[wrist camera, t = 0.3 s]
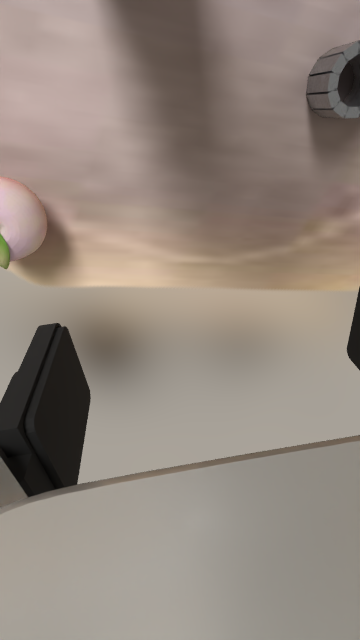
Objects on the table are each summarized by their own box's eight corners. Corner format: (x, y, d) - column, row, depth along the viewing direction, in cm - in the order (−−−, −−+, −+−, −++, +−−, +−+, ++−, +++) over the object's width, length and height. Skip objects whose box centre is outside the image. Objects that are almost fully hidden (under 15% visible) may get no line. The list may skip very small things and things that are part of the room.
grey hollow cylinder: (312, 48, 36) (335, 41, 32) (369, 46, 36) (399, 38, 32) (302, 118, 39) (322, 119, 35) (354, 115, 40) (380, 116, 36)
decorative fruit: (66, 236, 44) (49, 267, 35) (5, 249, 44) (-26, 283, 35) (36, 159, 39) (9, 173, 30) (-33, 173, 39) (-79, 192, 30)
